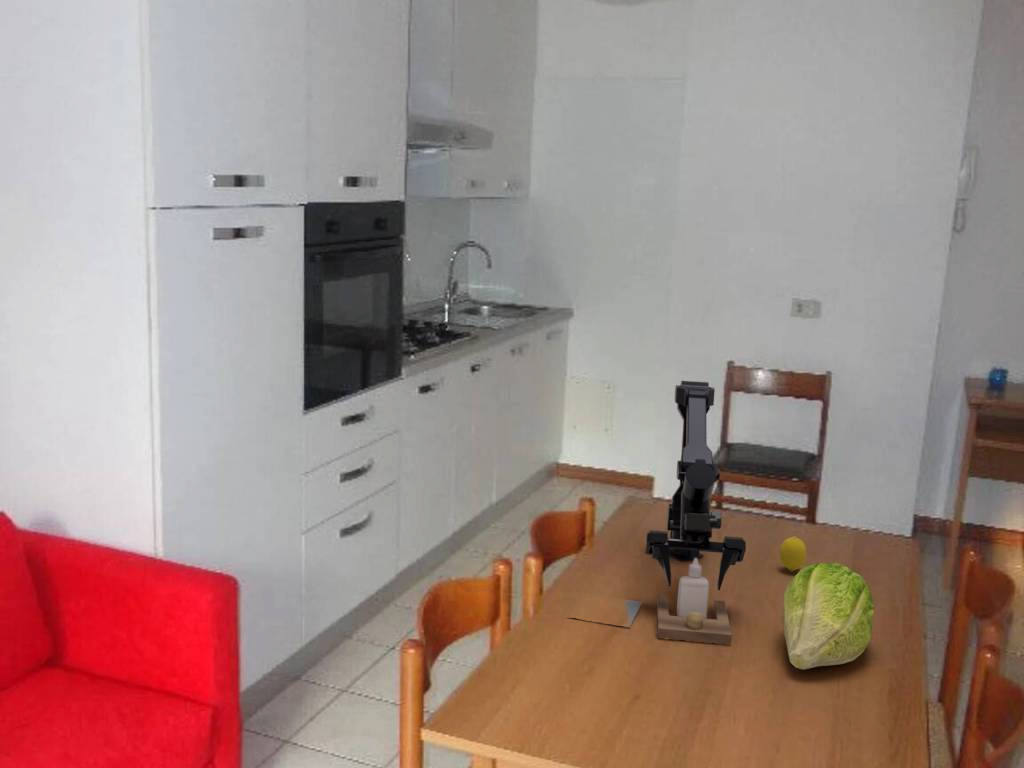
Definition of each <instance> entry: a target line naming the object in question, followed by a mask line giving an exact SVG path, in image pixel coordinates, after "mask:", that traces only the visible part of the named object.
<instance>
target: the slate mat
mask: <svg viewBox="0 0 1024 768" xmlns="http://www.w3.org/2000/svg"><path fill="white" fill-rule="evenodd" d="M624 601H625V600H624ZM626 601H627V602H626V603H627V604H626V603H625V604H626V606H627V607H626V606H625V605H624V606H625V608H624V609H626V611H627V613H628V612H629V613H628V614H627V615H629V616H628V617H630V618H631V620H630V618H628V619H629V622H630V623H629V626H628V624H627V626H628V627H630V626H631V624H632V625H633V623H634V621H635V619H636V617H637V615H638V613H639V611H640V609H641V607H642V605H643V601H638V600H637V601H636V600H631V599H626ZM641 604H642V605H641ZM624 606H623V607H624ZM639 608H640V609H639ZM638 610H639V611H638ZM637 612H638V613H637ZM636 614H637V615H636ZM635 616H636V617H635ZM634 618H635V619H634ZM628 619H627V620H628ZM633 620H634V621H633ZM631 621H632V622H633V623H632V622H631ZM631 627H632V626H631Z"/></svg>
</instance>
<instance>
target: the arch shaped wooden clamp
mask: <svg viewBox="0 0 1024 768" xmlns="http://www.w3.org/2000/svg"><path fill="white" fill-rule="evenodd" d="M656 597H657V599H656V614H657V615H656V619H657V620H658V623H657V638H669V639H676V640H675V641H679V640H685V641H684V642H690V641H693V642H692V643H701V642H704V643H705V644H712V643H715V644H716V645H723V644H725V645H727V646H731V645H732V644H731V643H732V636H733V635H732V630H731V626H730V621H729V616H728V610H727V606H726V601H724V600H716V599H715V600H714V601H713V609H712V610H713V616H714V618H713V619H711V618H706V619H703V615H702V614H700V613H697V612H689V613H687V617H680V616H677V615H670V611H669V610H670V609H669V598H668V597H669V596H667V595H666V596H665V595H657V596H656ZM704 643H703V644H704ZM715 644H714V645H715ZM725 645H724V646H725Z"/></svg>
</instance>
